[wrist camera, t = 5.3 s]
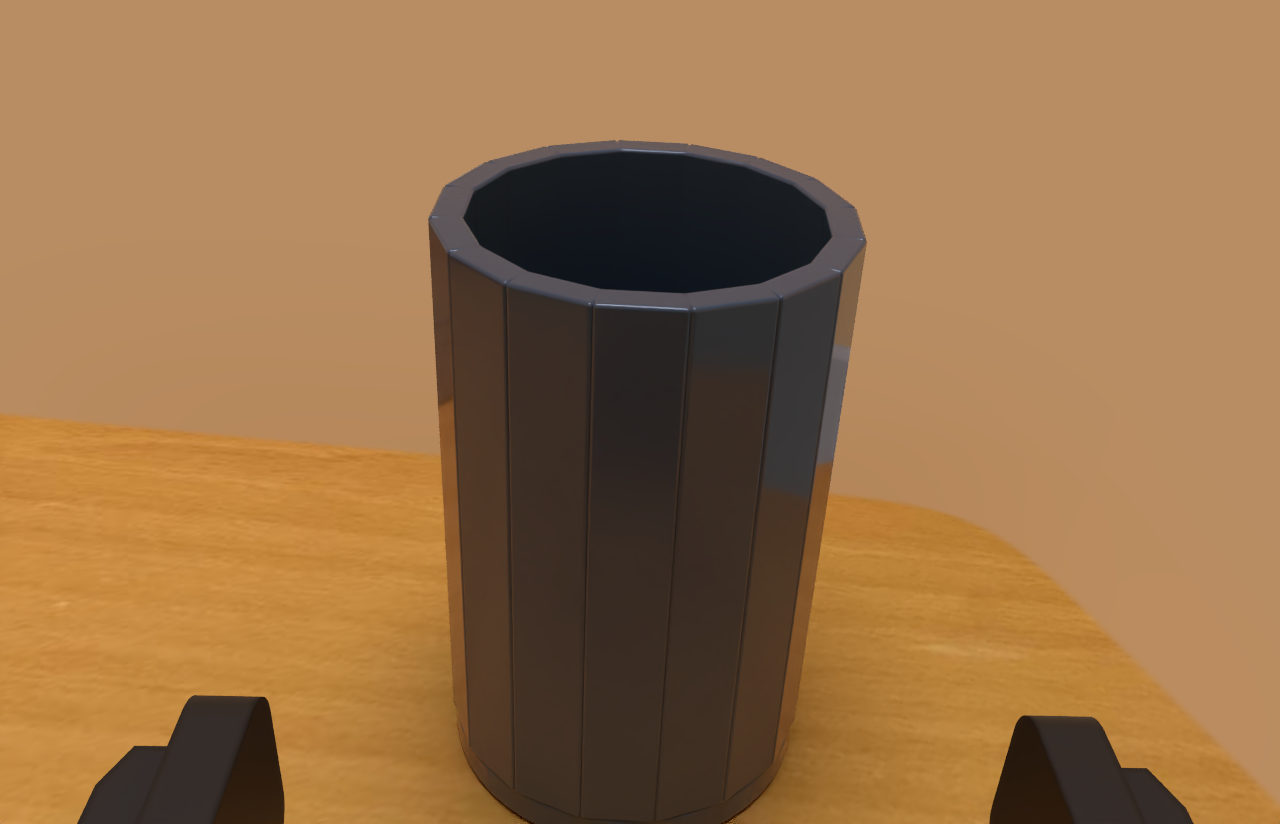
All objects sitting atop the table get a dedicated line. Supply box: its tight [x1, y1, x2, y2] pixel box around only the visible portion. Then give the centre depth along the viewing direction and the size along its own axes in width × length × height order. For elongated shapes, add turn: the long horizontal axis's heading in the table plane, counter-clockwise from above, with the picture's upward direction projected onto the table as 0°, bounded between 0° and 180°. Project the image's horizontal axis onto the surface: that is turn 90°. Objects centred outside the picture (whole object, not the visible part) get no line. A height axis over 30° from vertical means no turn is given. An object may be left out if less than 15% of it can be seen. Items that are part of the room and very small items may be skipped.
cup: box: [428, 140, 867, 824], centre depth 20 cm, size 6×6×10 cm
